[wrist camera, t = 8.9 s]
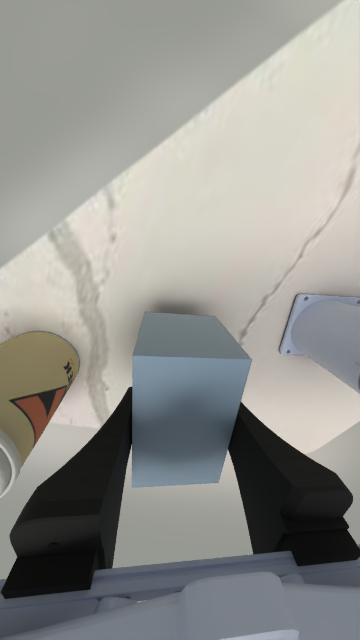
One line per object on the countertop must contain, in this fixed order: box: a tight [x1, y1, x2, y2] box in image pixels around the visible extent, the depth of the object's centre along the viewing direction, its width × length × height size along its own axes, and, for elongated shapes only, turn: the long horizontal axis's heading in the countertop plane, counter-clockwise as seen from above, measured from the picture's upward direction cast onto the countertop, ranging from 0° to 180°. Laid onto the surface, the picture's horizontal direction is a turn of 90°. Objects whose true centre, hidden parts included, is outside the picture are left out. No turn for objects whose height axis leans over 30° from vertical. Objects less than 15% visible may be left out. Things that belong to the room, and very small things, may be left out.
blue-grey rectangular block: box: [132, 312, 252, 488], centre depth 13 cm, size 6×10×7 cm, turn 174°
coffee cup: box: [0, 331, 79, 498], centre depth 15 cm, size 9×9×12 cm
